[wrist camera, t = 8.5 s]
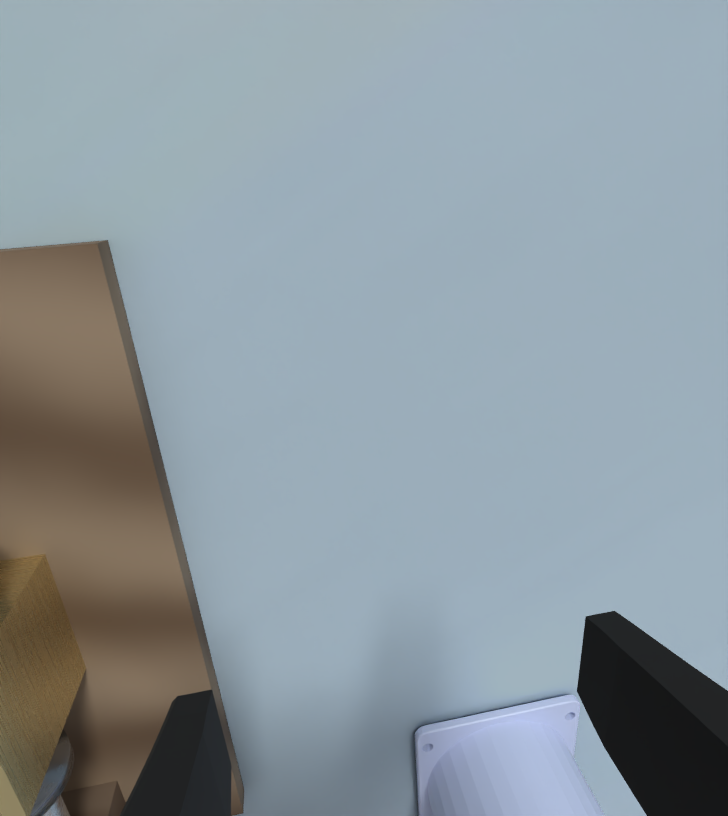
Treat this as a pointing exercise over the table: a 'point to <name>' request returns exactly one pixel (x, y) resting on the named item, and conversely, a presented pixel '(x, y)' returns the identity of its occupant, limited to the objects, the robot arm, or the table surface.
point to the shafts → (55, 781)
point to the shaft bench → (96, 513)
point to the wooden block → (32, 678)
